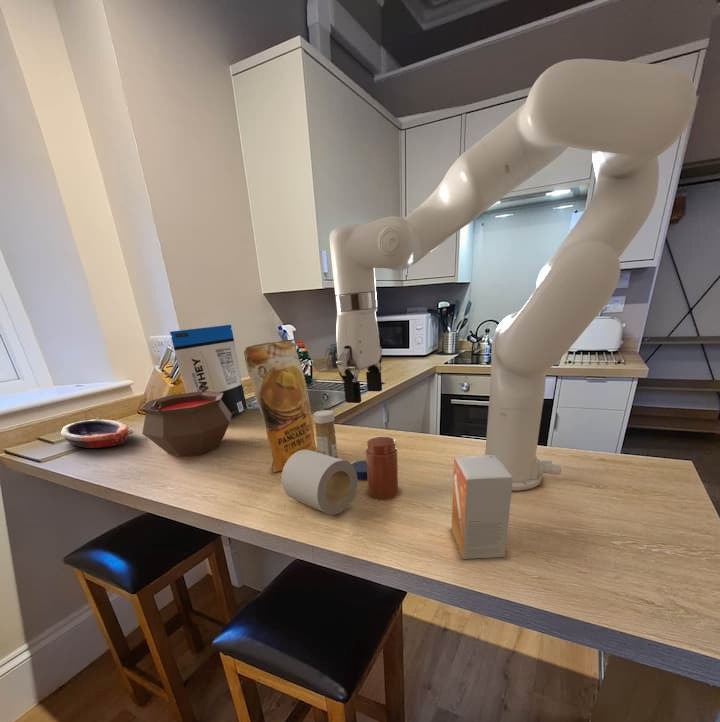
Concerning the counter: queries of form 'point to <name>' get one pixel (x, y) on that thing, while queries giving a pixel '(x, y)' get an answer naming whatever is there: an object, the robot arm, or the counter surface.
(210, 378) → the protein powder
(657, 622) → the counter surface
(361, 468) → the lid
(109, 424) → the dish
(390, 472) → the jar
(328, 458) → the toilet paper
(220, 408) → the brown faceted pot
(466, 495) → the small box
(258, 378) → the pancake mix bag
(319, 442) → the sprinkles bottle
